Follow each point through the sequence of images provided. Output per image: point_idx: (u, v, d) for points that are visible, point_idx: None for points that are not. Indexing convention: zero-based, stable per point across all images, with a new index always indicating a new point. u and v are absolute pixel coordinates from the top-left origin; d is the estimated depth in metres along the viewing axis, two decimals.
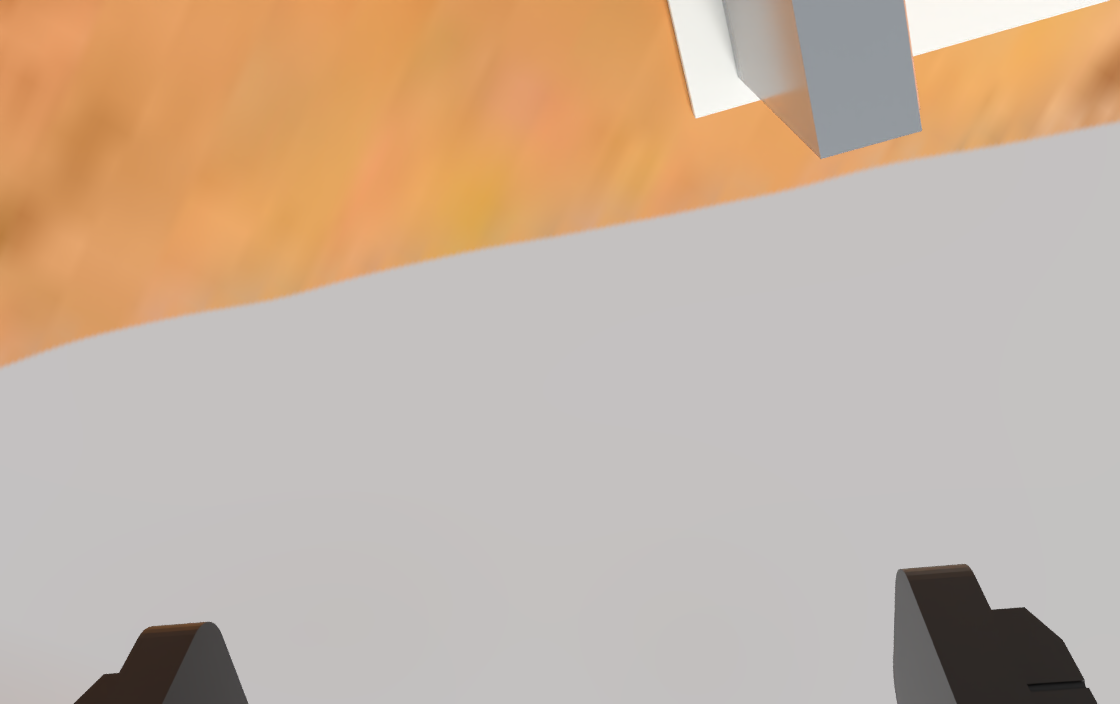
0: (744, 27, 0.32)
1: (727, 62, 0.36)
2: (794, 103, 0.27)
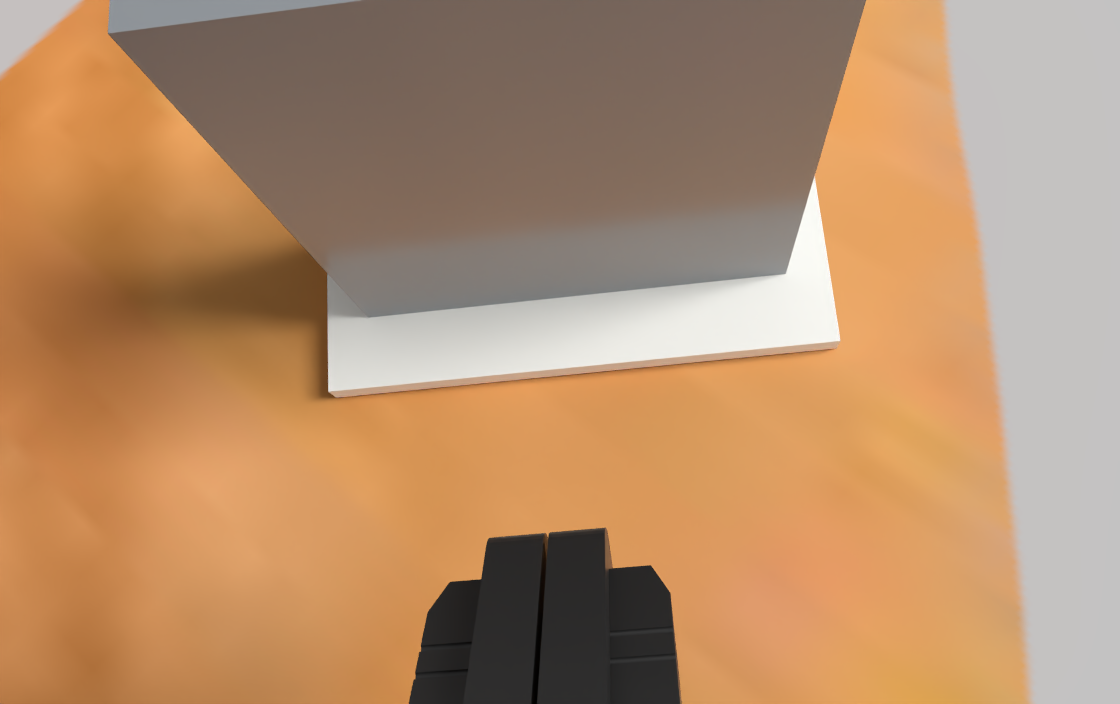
0: (692, 217, 0.21)
1: (760, 286, 0.24)
2: (786, 39, 0.15)
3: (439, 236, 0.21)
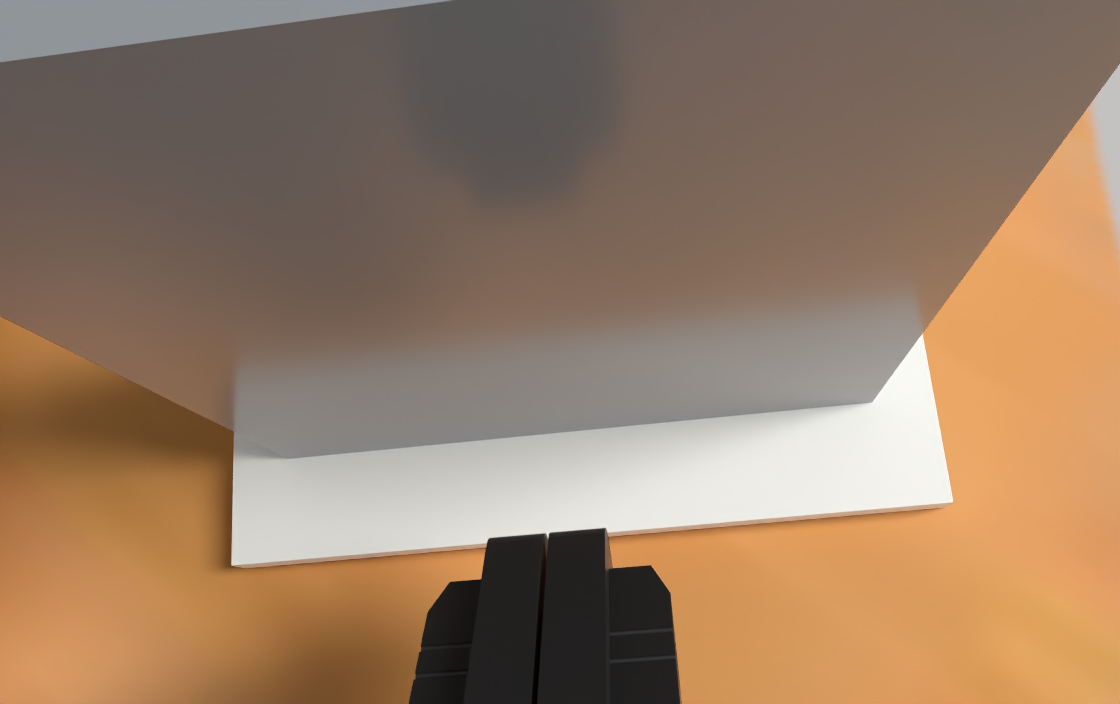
0: (750, 349, 0.14)
1: (836, 420, 0.17)
2: (962, 107, 0.08)
3: (366, 379, 0.14)
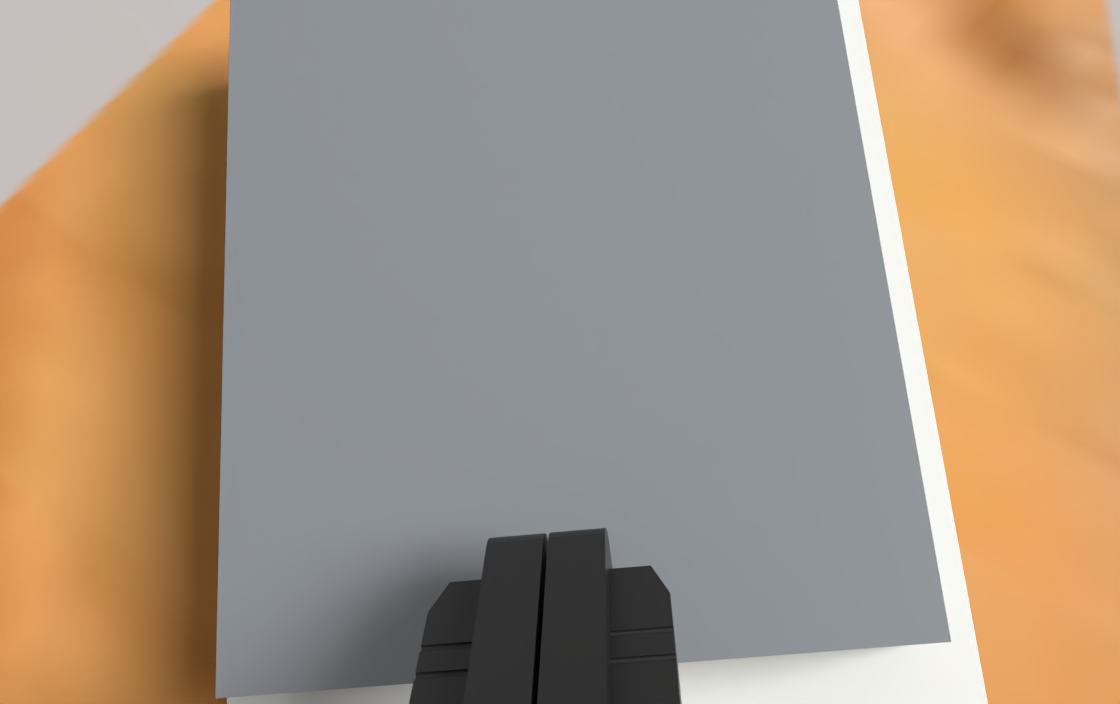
0: (742, 373, 0.15)
1: None
2: (772, 1, 0.16)
3: (396, 380, 0.15)
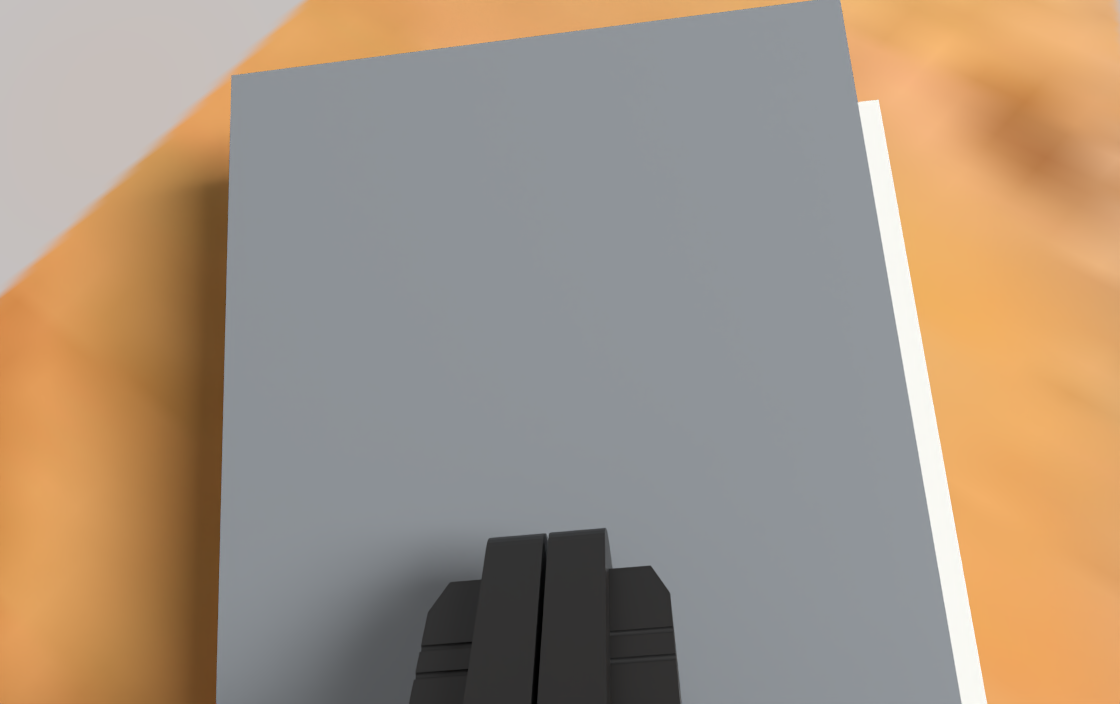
0: (762, 523, 0.14)
1: None
2: (793, 122, 0.16)
3: (402, 522, 0.15)
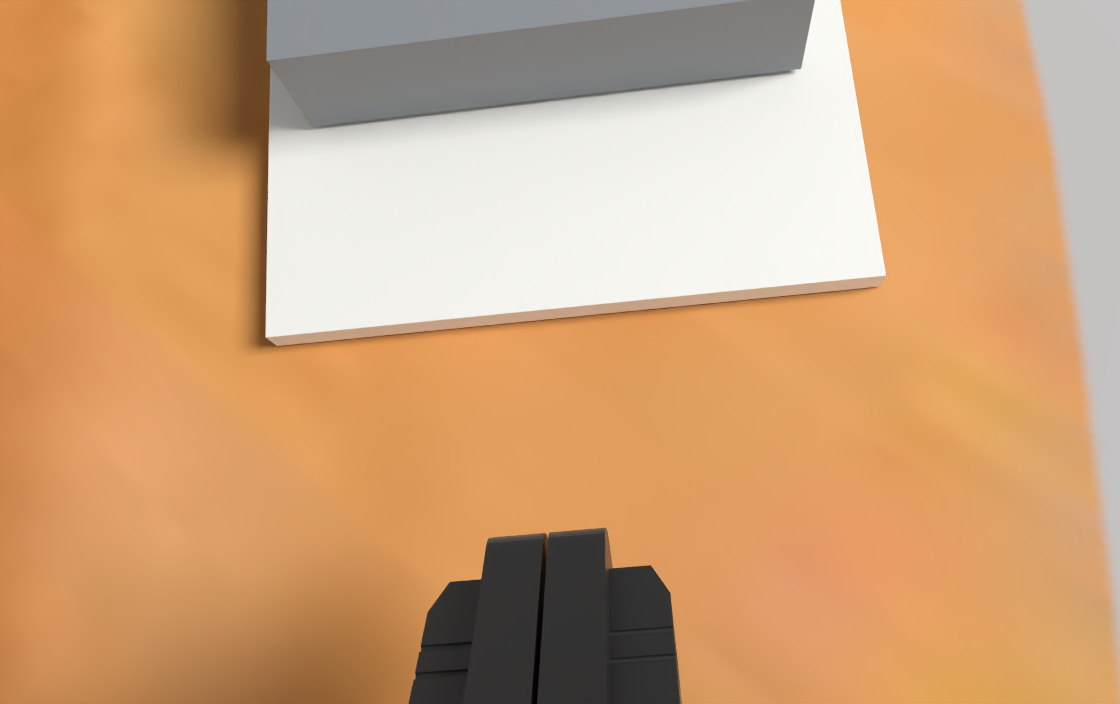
0: None
1: (788, 211, 0.20)
2: None
3: None
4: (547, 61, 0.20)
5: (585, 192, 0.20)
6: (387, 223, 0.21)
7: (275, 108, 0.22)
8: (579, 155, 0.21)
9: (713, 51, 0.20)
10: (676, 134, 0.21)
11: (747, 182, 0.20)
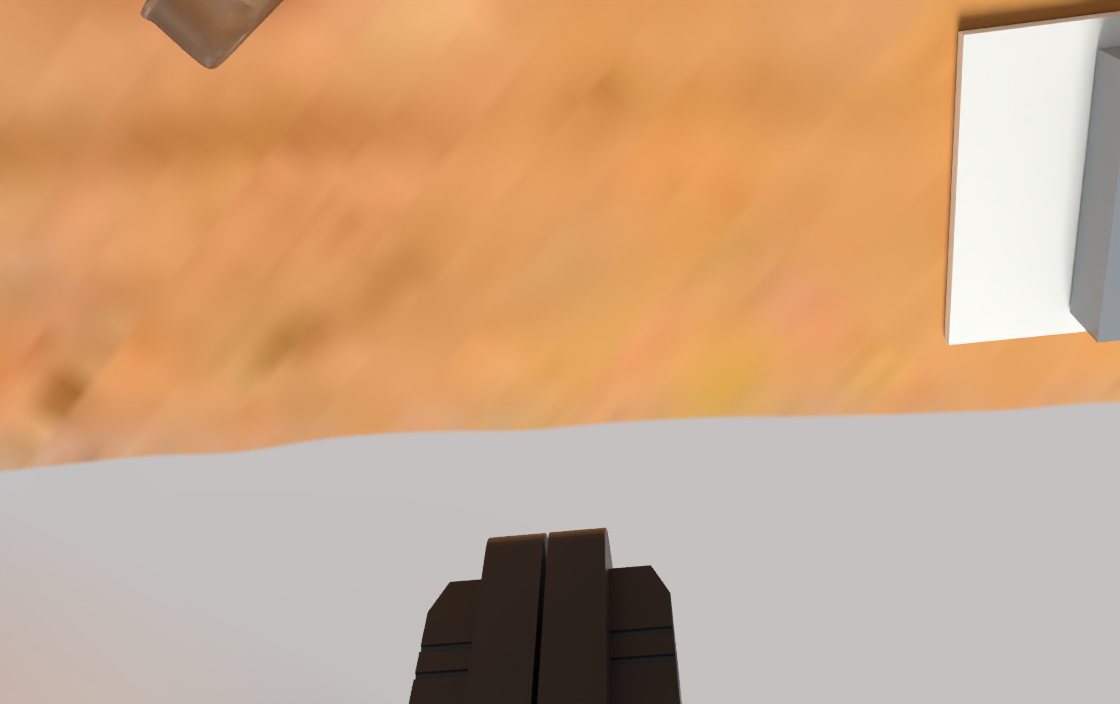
0: None
1: (990, 304, 0.40)
2: None
3: None
4: (1098, 204, 0.36)
5: (1020, 207, 0.38)
6: (1023, 100, 0.36)
7: (1118, 19, 0.35)
8: (1043, 203, 0.38)
9: (1085, 281, 0.38)
10: (1045, 251, 0.39)
11: (1010, 285, 0.39)
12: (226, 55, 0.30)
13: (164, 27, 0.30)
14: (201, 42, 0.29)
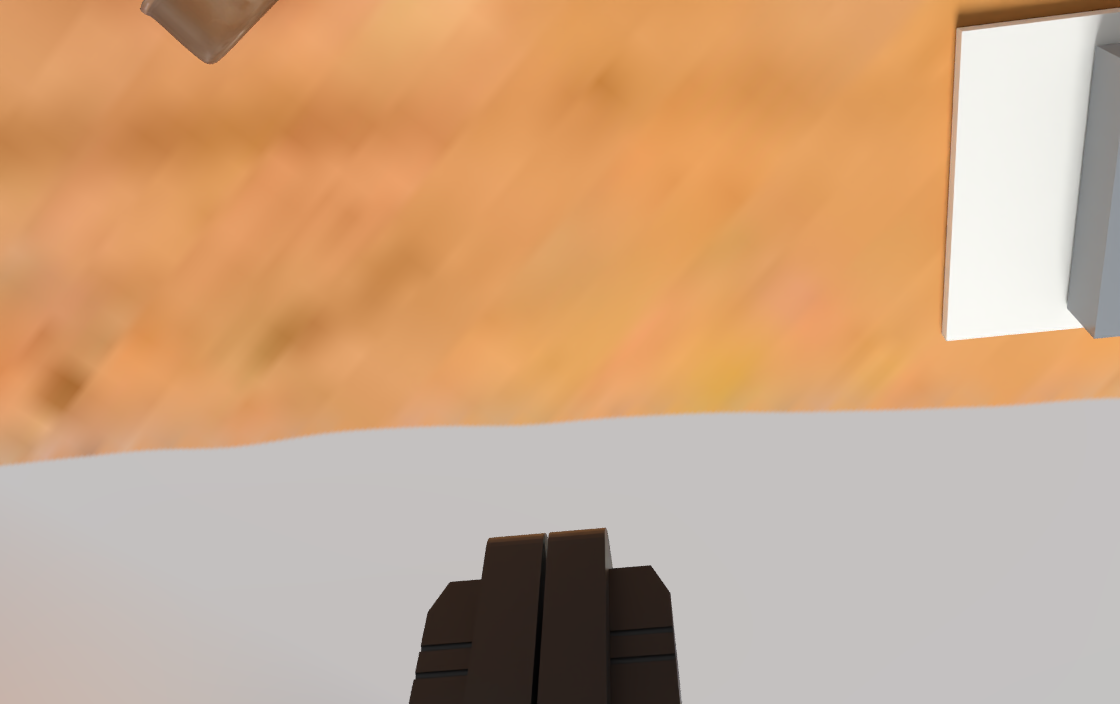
0: None
1: (987, 300, 0.40)
2: None
3: None
4: (1095, 200, 0.36)
5: (1018, 203, 0.38)
6: (1021, 96, 0.36)
7: (1116, 16, 0.35)
8: (1041, 200, 0.38)
9: (1082, 277, 0.38)
10: (1043, 248, 0.39)
11: (1007, 282, 0.40)
12: (225, 50, 0.30)
13: (163, 22, 0.30)
14: (200, 37, 0.30)
